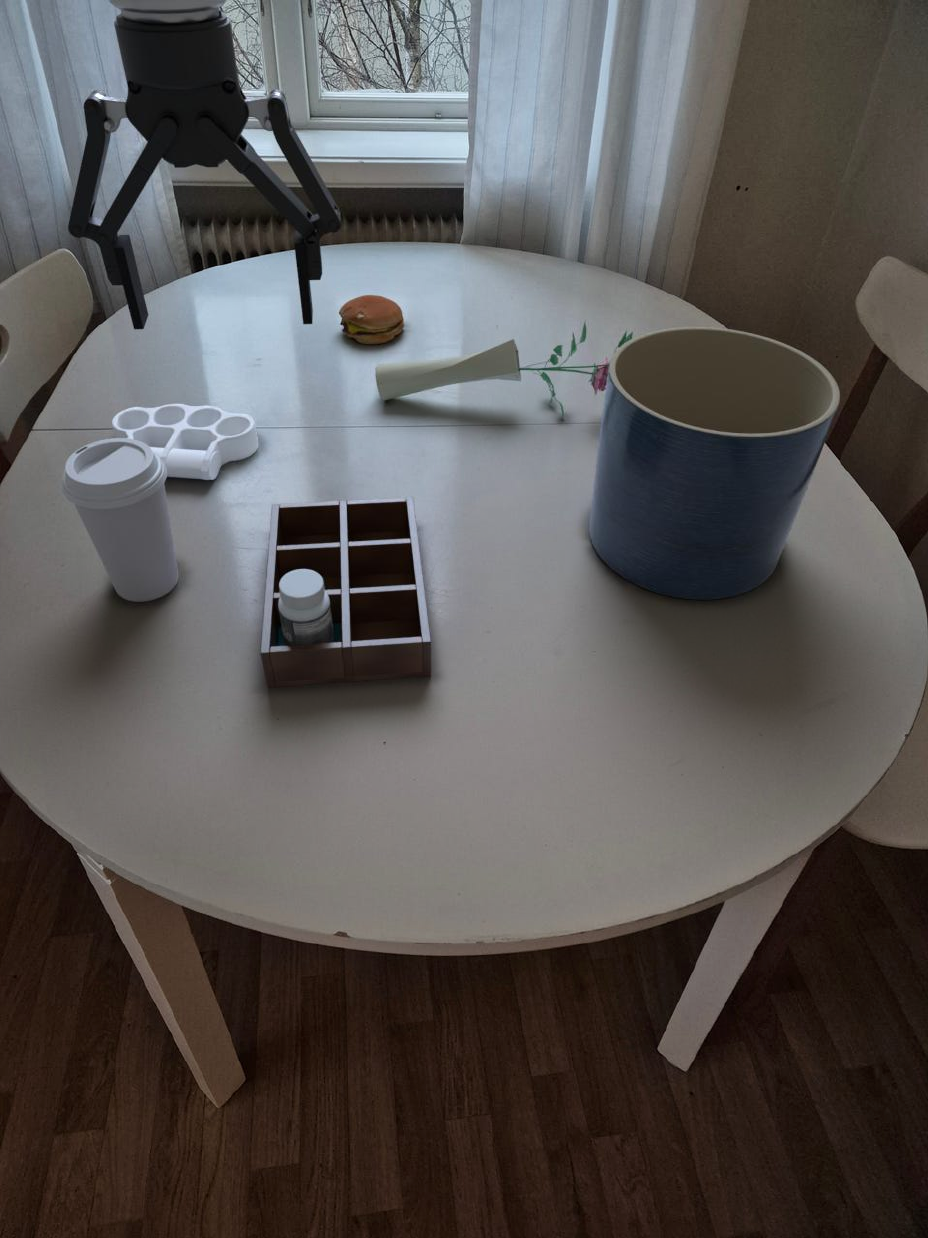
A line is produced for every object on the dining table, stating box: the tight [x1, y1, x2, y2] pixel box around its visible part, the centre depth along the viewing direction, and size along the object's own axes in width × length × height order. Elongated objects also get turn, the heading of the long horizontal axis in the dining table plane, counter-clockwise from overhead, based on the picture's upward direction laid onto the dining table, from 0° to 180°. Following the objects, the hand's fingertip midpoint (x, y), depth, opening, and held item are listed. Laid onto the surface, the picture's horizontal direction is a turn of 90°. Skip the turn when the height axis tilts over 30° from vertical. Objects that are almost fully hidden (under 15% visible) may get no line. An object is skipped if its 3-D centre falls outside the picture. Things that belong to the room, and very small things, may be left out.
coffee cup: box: [61, 437, 180, 603], centre depth 86 cm, size 10×10×15 cm
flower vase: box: [374, 321, 634, 421], centre depth 116 cm, size 12×12×35 cm
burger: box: [338, 294, 405, 345], centre depth 133 cm, size 10×9×5 cm
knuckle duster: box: [111, 403, 259, 481], centre depth 108 cm, size 3×18×15 cm
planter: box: [588, 326, 841, 601], centre depth 91 cm, size 22×22×20 cm
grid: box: [259, 496, 432, 688], centre depth 88 cm, size 15×23×5 cm
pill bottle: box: [278, 569, 334, 646], centre depth 80 cm, size 5×5×8 cm
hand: (225, 320), depth 72 cm, fingers open, 13 cm apart
